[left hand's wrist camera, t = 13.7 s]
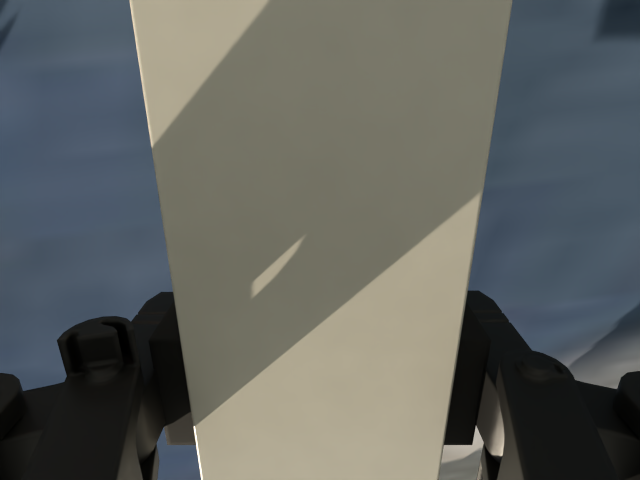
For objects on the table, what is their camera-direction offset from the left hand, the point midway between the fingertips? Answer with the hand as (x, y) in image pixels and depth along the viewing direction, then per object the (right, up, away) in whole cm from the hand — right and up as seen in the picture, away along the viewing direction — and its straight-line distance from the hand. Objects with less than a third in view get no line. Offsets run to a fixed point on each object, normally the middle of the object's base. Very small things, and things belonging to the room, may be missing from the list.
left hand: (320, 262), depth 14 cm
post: (0, +17, -6) cm, 18 cm away
